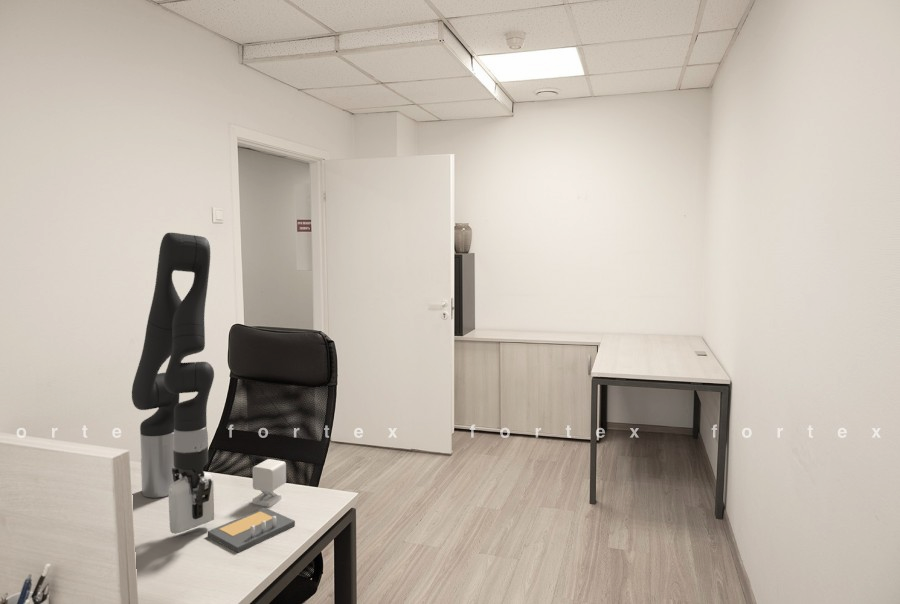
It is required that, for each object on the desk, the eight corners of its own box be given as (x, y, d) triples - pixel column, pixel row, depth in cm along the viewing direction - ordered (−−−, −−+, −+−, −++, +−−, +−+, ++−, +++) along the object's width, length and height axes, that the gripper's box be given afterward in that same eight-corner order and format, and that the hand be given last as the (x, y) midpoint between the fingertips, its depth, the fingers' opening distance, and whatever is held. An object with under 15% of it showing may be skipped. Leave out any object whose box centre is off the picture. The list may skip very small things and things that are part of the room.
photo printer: (174, 536, 133) (173, 484, 132) (166, 529, 136) (165, 479, 135) (217, 520, 141) (216, 472, 140) (208, 515, 144) (207, 467, 143)
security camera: (286, 496, 159) (286, 461, 158) (270, 507, 153) (270, 470, 152) (267, 493, 161) (266, 458, 160) (250, 503, 155) (250, 467, 154)
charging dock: (207, 536, 137) (207, 521, 137) (264, 511, 150) (264, 498, 150) (237, 552, 130) (237, 536, 130) (294, 525, 143) (294, 511, 143)
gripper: (159, 442, 138) (161, 511, 140) (191, 457, 129) (193, 530, 131) (189, 434, 144) (191, 500, 146) (222, 448, 135) (223, 518, 137)
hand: (192, 514), depth 138 cm, fingers closed on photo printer, 4 cm apart
